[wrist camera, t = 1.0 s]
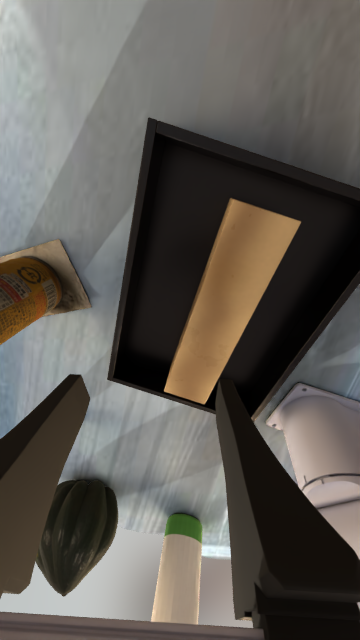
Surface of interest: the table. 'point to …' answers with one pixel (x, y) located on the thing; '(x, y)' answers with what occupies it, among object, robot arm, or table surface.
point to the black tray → (194, 250)
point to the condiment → (37, 287)
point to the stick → (228, 295)
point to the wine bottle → (179, 572)
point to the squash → (76, 532)
